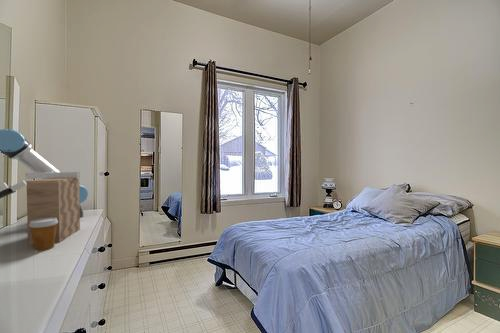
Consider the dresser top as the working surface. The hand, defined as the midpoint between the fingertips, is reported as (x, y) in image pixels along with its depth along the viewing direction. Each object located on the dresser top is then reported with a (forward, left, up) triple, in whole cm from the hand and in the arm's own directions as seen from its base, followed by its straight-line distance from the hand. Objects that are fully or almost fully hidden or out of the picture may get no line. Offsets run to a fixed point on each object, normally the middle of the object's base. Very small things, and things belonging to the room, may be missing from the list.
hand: (16, 183), depth 121 cm
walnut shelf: (+6, +19, -26) cm, 33 cm away
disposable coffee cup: (+24, +23, -26) cm, 42 cm away
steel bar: (0, +16, +2) cm, 16 cm away
